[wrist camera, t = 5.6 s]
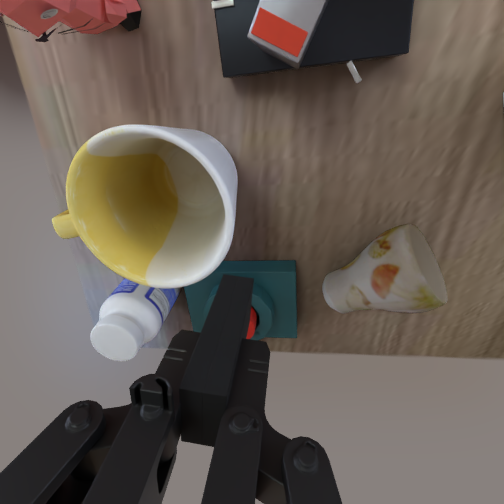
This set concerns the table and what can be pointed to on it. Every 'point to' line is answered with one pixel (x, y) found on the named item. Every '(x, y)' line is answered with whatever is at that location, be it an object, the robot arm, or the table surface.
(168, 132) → the mug
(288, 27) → the spout
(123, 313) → the pill bottle
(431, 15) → the table surface
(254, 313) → the button
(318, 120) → the table surface
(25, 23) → the pink cat figurine
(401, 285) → the mug
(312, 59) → the plate
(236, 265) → the switch
